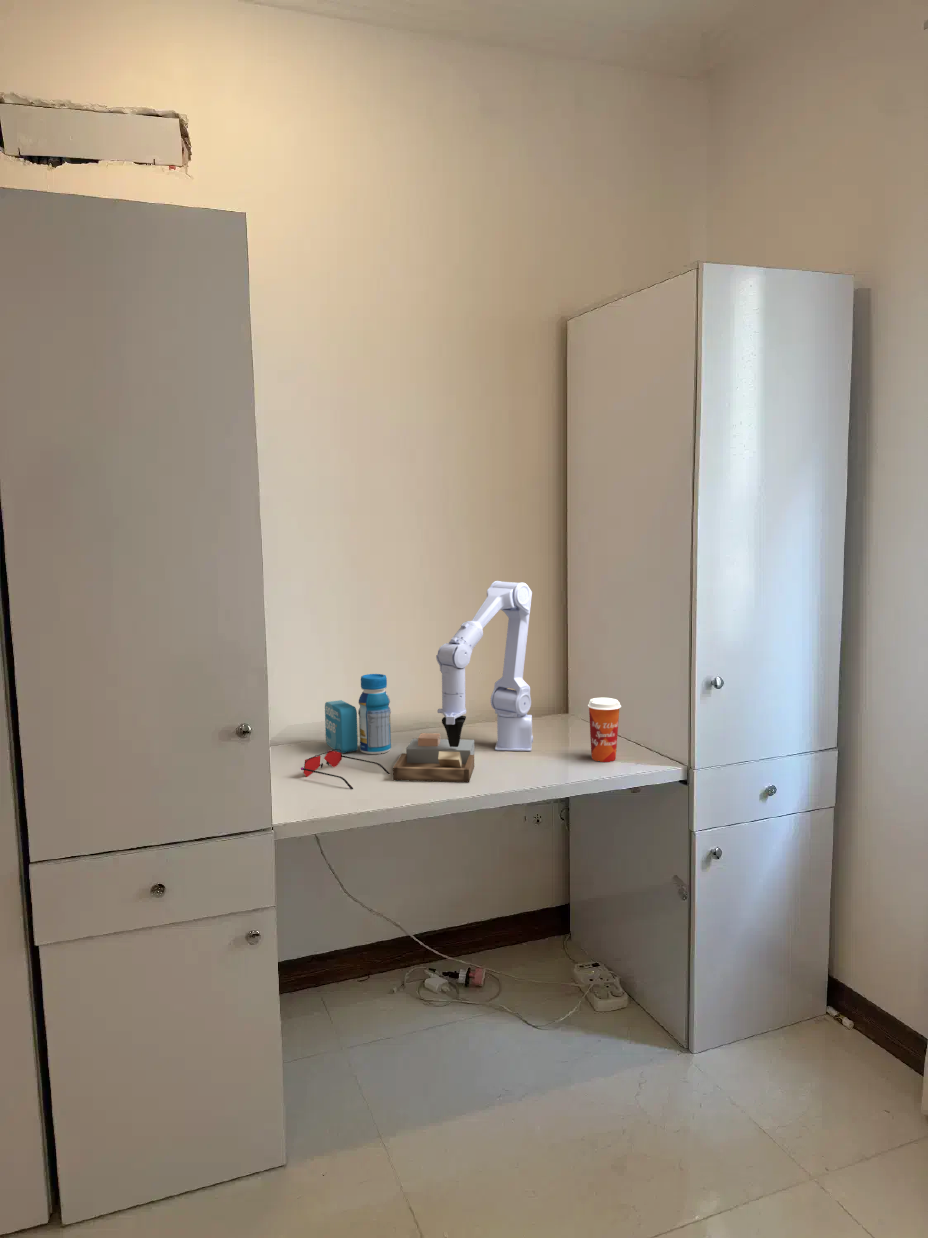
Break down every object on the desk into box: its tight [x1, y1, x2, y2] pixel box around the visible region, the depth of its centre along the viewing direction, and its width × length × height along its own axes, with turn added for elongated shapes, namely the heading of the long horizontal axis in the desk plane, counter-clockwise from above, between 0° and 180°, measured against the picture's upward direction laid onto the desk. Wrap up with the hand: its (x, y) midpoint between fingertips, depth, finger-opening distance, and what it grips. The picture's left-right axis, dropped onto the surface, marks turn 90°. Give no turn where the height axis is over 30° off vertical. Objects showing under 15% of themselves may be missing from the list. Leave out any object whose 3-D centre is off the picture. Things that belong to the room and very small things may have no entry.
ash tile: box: [438, 751, 462, 768], centre depth 212 cm, size 5×5×2 cm
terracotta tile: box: [417, 732, 441, 746], centre depth 222 cm, size 5×5×2 cm
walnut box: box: [392, 752, 475, 783], centre depth 211 cm, size 18×12×3 cm
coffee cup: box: [587, 697, 622, 763], centre depth 221 cm, size 8×8×15 cm
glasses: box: [300, 749, 391, 790], centre depth 210 cm, size 14×16×5 cm
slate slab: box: [405, 738, 475, 764], centre depth 222 cm, size 16×10×4 cm, turn 84°
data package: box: [324, 699, 359, 754], centre depth 233 cm, size 12×4×12 cm, turn 30°
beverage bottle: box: [357, 673, 392, 755], centre depth 230 cm, size 8×8×20 cm
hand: (454, 746), depth 217 cm, fingers closed
